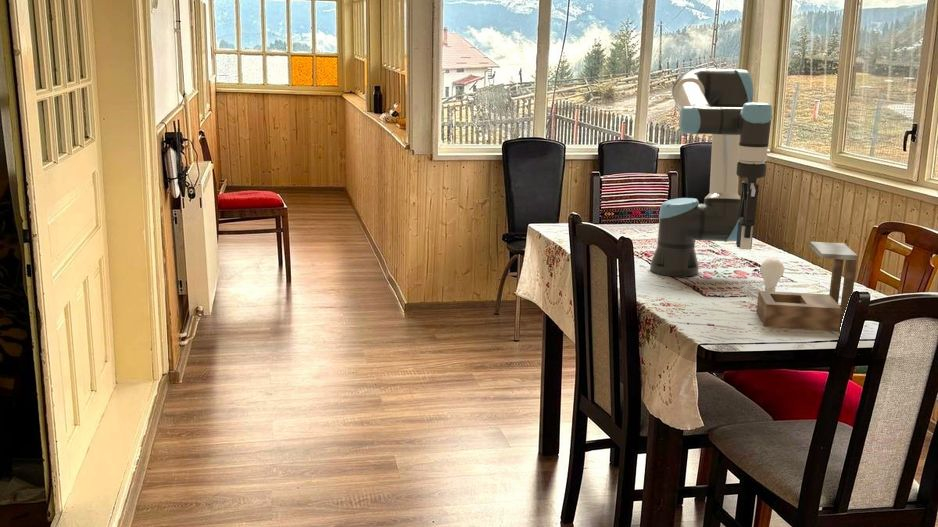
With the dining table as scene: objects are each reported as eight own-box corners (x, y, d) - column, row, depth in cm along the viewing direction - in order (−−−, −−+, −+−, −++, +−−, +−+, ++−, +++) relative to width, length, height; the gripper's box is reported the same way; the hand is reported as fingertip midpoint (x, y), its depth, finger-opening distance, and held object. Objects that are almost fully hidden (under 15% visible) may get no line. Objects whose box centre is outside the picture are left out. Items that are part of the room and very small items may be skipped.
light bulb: (762, 290, 259) (766, 254, 256) (784, 294, 255) (788, 258, 252) (754, 294, 254) (757, 258, 251) (776, 299, 250) (780, 262, 247)
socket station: (764, 326, 225) (772, 251, 220) (756, 311, 238) (763, 239, 233) (847, 332, 222) (857, 255, 217) (834, 315, 235) (843, 243, 230)
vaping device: (744, 250, 234) (749, 206, 231) (734, 246, 239) (738, 203, 236) (753, 249, 235) (757, 206, 232) (742, 245, 240) (746, 202, 237)
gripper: (772, 167, 222) (763, 255, 228) (761, 157, 239) (753, 239, 245) (742, 166, 223) (733, 253, 229) (733, 156, 240) (725, 238, 246)
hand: (743, 246), depth 237 cm, fingers closed on vaping device, 5 cm apart
